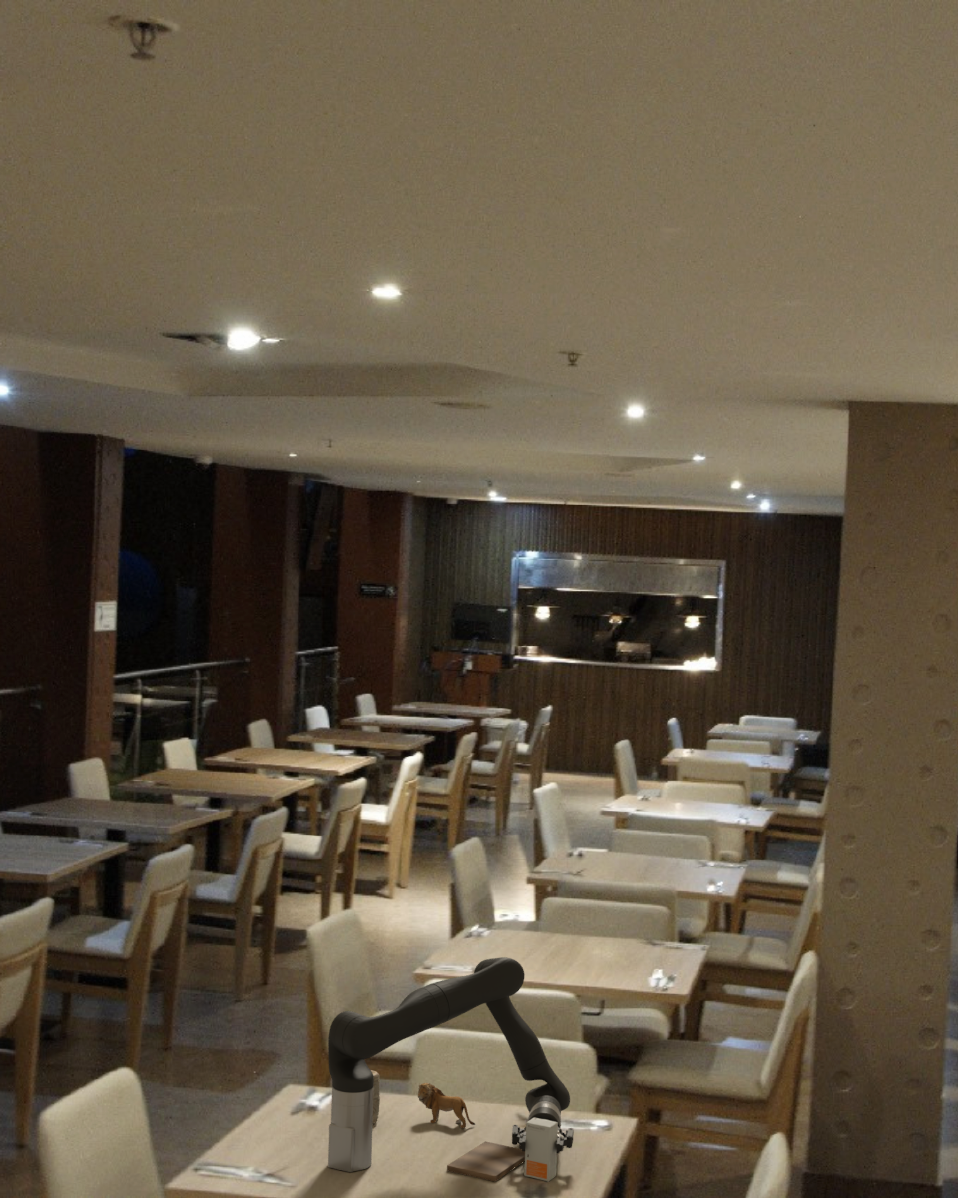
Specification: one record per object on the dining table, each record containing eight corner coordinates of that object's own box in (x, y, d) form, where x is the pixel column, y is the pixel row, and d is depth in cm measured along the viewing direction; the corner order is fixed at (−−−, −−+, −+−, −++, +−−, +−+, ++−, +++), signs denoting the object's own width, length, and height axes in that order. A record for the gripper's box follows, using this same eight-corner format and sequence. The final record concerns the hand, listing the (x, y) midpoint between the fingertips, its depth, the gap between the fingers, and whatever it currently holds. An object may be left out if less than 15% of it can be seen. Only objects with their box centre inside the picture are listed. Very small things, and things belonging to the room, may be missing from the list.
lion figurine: (413, 1122, 376) (414, 1085, 376) (420, 1116, 381) (421, 1079, 381) (472, 1130, 372) (473, 1092, 372) (478, 1123, 377) (479, 1086, 377)
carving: (384, 1121, 377) (386, 1071, 377) (366, 1129, 370) (368, 1079, 370) (363, 1115, 380) (364, 1066, 380) (344, 1124, 373) (346, 1074, 373)
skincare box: (523, 1177, 343) (525, 1122, 343) (532, 1170, 346) (533, 1116, 346) (548, 1182, 340) (550, 1127, 340) (557, 1176, 344) (558, 1121, 344)
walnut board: (495, 1181, 339) (495, 1176, 339) (446, 1171, 345) (447, 1165, 345) (531, 1156, 355) (532, 1151, 355) (485, 1146, 361) (485, 1141, 361)
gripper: (513, 1104, 358) (508, 1129, 341) (576, 1108, 357) (574, 1132, 340) (512, 1137, 358) (507, 1163, 342) (575, 1141, 357) (573, 1167, 340)
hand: (540, 1148), depth 341 cm, fingers closed on skincare box, 7 cm apart
